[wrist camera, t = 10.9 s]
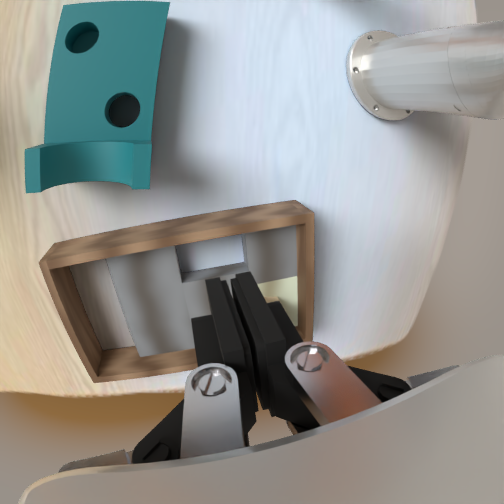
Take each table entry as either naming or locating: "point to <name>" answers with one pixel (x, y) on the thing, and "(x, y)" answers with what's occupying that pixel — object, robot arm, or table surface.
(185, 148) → the table surface
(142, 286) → the box
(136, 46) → the teal l-shaped bracket
